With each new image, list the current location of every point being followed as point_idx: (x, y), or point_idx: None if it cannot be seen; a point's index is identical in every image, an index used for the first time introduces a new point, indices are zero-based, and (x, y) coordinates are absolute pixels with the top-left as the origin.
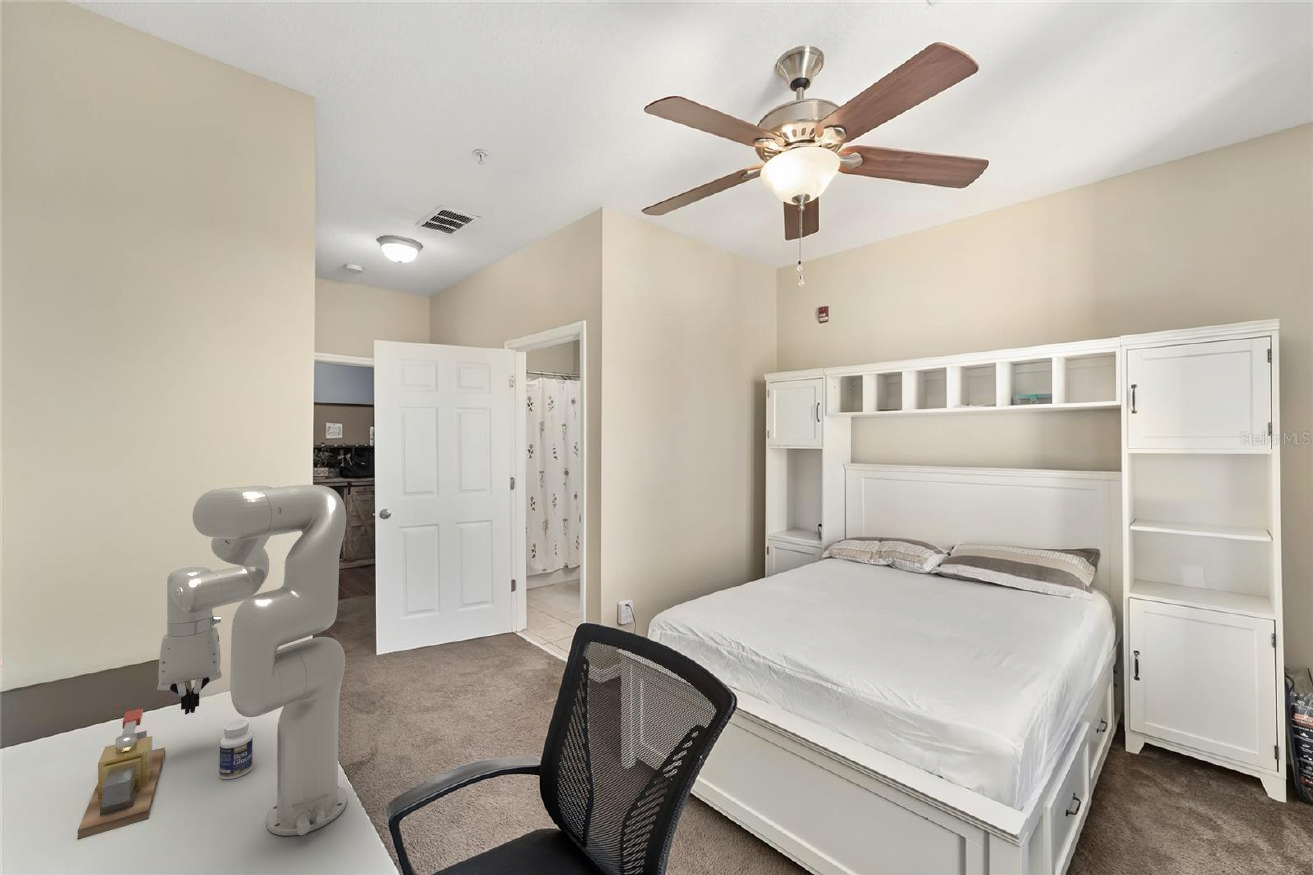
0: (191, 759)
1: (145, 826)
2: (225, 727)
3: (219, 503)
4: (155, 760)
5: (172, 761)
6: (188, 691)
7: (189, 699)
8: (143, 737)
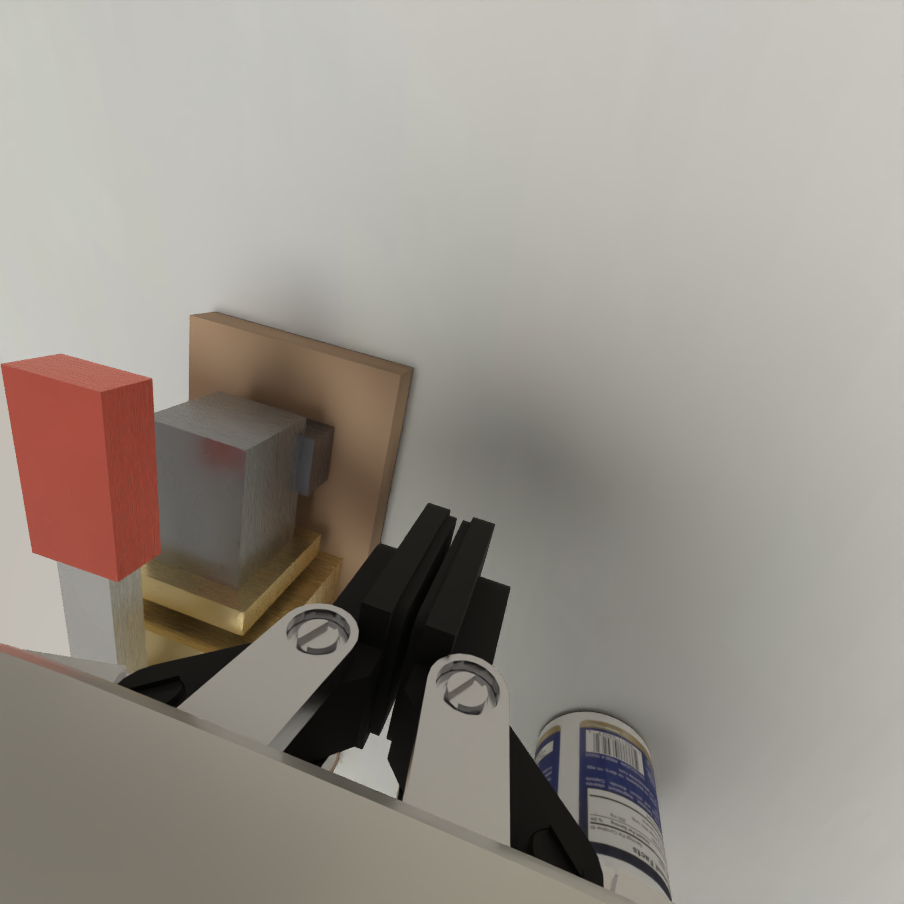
0: (494, 518)
1: None
2: None
3: None
4: (356, 487)
5: (430, 470)
6: (361, 722)
7: (399, 679)
8: (236, 534)
